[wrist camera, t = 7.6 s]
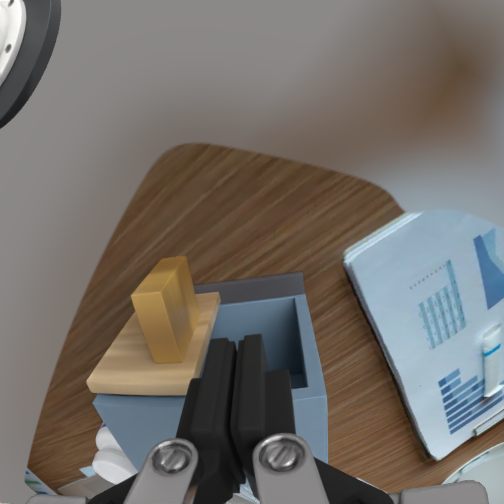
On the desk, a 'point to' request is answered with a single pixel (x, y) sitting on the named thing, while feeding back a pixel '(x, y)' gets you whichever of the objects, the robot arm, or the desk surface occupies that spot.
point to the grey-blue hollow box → (235, 328)
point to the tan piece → (159, 336)
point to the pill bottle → (111, 458)
